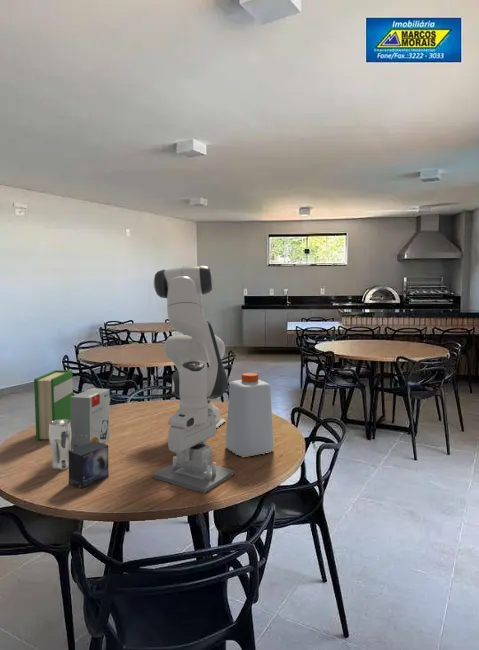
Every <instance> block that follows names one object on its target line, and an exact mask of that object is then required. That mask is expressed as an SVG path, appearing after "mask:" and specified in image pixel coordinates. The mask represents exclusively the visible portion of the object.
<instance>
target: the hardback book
mask: <svg viewBox="0 0 479 650" xmlns="http://www.w3.org/2000/svg"><path fill="white" fill-rule="evenodd" d="M33 381H34V382H33V383H34V384H33V385H34V386H33V387H34V388H33V389H34V409H35V410H34V412H35V413H34V414H35V415H34V416H35V417H34V418H35V437H36V438H35V440H36V442H40V441H41V440H49V423H50V422H52V421H55V420H61V419H66V420H70V421H71V404H70V398H71V397H72V396H74V385H73V384H74V382H73V381H74V378H73V370H70V369H68V370H67V369H65V370H61V369H59V370H58V369H56V370H53V371H50V372H48V373H46V374H45V373H44V374H43V375H41V376H39V377H36V378H33Z"/></svg>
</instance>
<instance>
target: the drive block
mask: <svg viewBox="0 0 479 650" xmlns="http://www.w3.org/2000/svg"><path fill="white" fill-rule="evenodd" d="M212 450H213V449H212V445H208V444H205V445H204V444H200V443H199V444H197V445H195V446H193V447H191V448H189V451H188V453H189V455H191V460H190V461H188V462H186V461H184V455H183V453H182V452H180V453H175V454H176V466H177V467H180V468H184V469H187V470H191V471H194V472H198V473H201V474H202V473H204V472H206V466H207V465H210V469H211V467H212V462H213V461H212V459H213V458H212V454H213V453H212V452H213V451H212Z"/></svg>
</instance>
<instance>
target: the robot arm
mask: <svg viewBox="0 0 479 650" xmlns="http://www.w3.org/2000/svg"><path fill="white" fill-rule="evenodd" d="M214 277H215V276H214V274H213V272H212V271H211V268H210V267H209V266H206V265H199V266H194V265H193V266H191V265H190V266H189V265H188V266H181V267H175V268H169V269H161V270H158V271H157V272H156V273H155V274H154V277H153V278H154V279H153V288H154V291H155V293H156V295H157V296H158V297H159V298H162V299H166V305H167V306H166V309H167V318H168V323H169V325H170V326H171V327H172V328H173V329H174V330H175V331H177V332H178V333H180V334H176V335H171V336H168V338H167V339H166V340H165V342H164V345H163V350H164V354H165V356H166V357H167V359H169V360H170V361H171V362H172V363H173V364H174V366H175V367H176V369H177V370H175V371H174V372H173V373H172V375H171V393H172V394H173V395H174V396H176V397H177V398H179V406H178V409H177V410H176V411H175V412H174V413H173V414H172V415H171V416H170V417H169V419H168V426H170V427H169V428H168V433H167V434H168V438H167V442H168V443H167V445H168V447H167V448H168V449H169V451H170V452H172V453H174V454H176V453H180V452H182V453H183V455H184V461H186V462H188V461H190V460H191V455H189V453H188V451H189V448H191V447H193V446H195V445H197V444H199V443H200V444H204V445H207V440H209V439H211V438H213V437H215V436H216V434H217V429H218V428H219V427H218V426H220V425H221V424H222V423H223V422H225V421H226V422H227V419H224V418H222V417H221V410H220V409H219V408H218V407H217V406H216V405H214V403H212V401H211V399H214V398H220V397H221V396H223V395H224V394H225V393H226V392H227V390H228V388H229V387H228V386H229V385H228V384H229V381H228V376H227V373H226V370H225V367H224V365H223V361H222V359H223V358H224V355H225V353H226V345H225V343H224V341H223V340H222V339H221V338H220V337H219V336H217V335H216V334H215V333H214V332H215V331H214V329H213V327H212V324H211V322H209V321H208V320H206V316H205V312H204V311H205V310H204V305H203V303H204V302H203V297H202V295H207V294H210V293H211V292H212V290H213V287H214V283H215V278H214ZM204 363H208V367H206V365H205V364H204ZM226 422H225V423H226ZM221 426H222V425H221ZM221 426H220V427H221ZM217 427H218V428H217ZM216 428H217V429H216Z"/></svg>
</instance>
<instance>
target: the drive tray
mask: <svg viewBox="0 0 479 650" xmlns="http://www.w3.org/2000/svg"><path fill="white" fill-rule="evenodd" d="M234 473H236V472H235V470H234V469H230V468H225V467H223V466H219V465H217V462H215V461H212V467H211V469H210V465H207V466H206V472H204V473H202V474H201V473H198V472H194V471H191V470H187V469H184V468H180V467H177V466H176V456H175V455H174V456H172V463H171V464H170V465H167V466H166V467H163V468H162V469H159V470H158V471H156V472H153V473H152V478H153V479H156V480H159V481H162V482H165V483H169V484H172V485H176V486H179V487H182V488H185V489H188V490H189V489H190V490H192V491H196V492H198V491H200V492H199V493H201V492H203V493H202V494H204V493H205V494H207V493H208V492H210V491H211V490H213V489H214V488H216V487H217V486H219V485H220V484H222V483H223V482H225V481H226V480H228V479H229V478H231V477H232V476H231V475H232V474H234ZM234 475H235V474H234ZM230 476H231V477H230ZM228 477H229V478H228ZM227 478H228V479H227ZM225 479H226V480H225ZM224 480H225V481H224ZM222 481H223V482H222ZM221 482H222V483H221ZM219 483H220V484H219ZM218 484H219V485H218ZM216 485H217V486H216ZM215 486H216V487H215ZM212 488H213V489H212ZM209 490H210V491H209ZM207 491H208V492H207ZM206 492H207V493H206Z"/></svg>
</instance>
